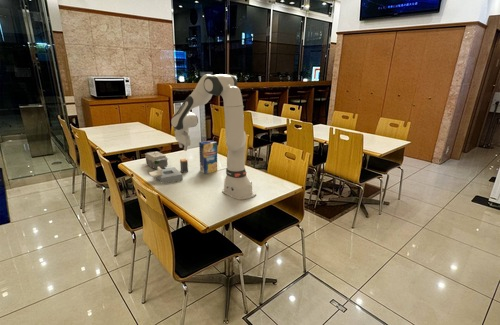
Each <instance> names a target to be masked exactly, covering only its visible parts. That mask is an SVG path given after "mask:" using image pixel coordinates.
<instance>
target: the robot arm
mask: <svg viewBox="0 0 500 325" xmlns="http://www.w3.org/2000/svg"><path fill="white" fill-rule="evenodd" d="M241 92H242V91H241V89H240V88H239V87H238V81H237V78H236V77H235V76H234V75H232V74H229V73H225V74H223V73H219V74H209V73H206V74H203V76H202V77H201V78H200V79H199V81H198V82H197V84H196V86H195V88H194V89H193V91H191V94H189V95H188V96H187V97H186V98H185V99H184V100H183V101H182V104H181V105H180V107H176V108H175V112H174V114H173V115H172V117H171V119H170V120H171V121H170V124H171V126H172V128H173V130H174V138H175V140H176V141H177V142H178V145H179V146H178V147H179V148H183V151H185V152H187V151H188V147H189V146H191V136H190V134H189V133H190V131H189V130H190V128H194V127H197V125H198V124H199V118H198V116H197V114H196V113H194V112H191V110H193V109H194V108H197V107H200V106H203V105H206V104H208V102H209V101H211V99H212V97H213V96H216V97H220V96H221V97H222V99H223V111H224V122H225V123H224V124H225V126H224V128H225V129H224V132H225V134H224V136H225V145H226V147H227V155H226V169H225V174H226V175H225V178H224V183H223V189H222V191H221V192H222V193H223V194H225V195H227V196H229V197H231V198H233V199H235V200H239V201H240V200H247V199H251V198H253V197H255V196H257V192H256V191H254V190H253V182H252V181H250V180H249V179H250V178H248V176H247V173H248V172H247V170H246V166H245V162H246V145H247V132H246V131H245V114H244V103H243V102H244V101H243V96H242V93H241ZM183 146H184V147H183Z"/></svg>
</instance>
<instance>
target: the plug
mask: <svg viewBox="0 0 500 325" xmlns="http://www.w3.org/2000/svg"><path fill="white" fill-rule="evenodd" d="M179 163H180V164H179V165H180V173H187V172H189V168H188V167H189V165H188V159H186V158H181V159H179Z"/></svg>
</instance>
